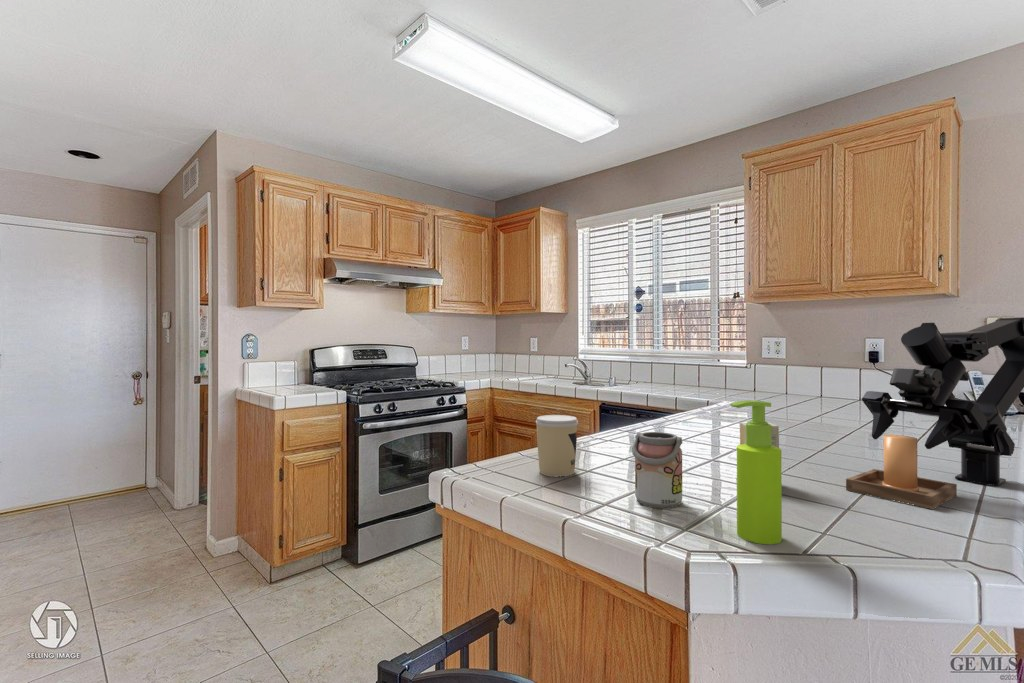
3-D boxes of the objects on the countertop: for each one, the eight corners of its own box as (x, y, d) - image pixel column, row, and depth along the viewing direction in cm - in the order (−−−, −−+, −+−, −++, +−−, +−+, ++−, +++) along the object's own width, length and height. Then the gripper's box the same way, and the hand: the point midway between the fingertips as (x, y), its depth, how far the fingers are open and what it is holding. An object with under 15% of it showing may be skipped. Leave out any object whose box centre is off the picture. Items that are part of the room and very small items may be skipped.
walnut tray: (874, 479, 101) (874, 469, 101) (956, 496, 90) (956, 484, 90) (846, 490, 93) (846, 478, 93) (932, 509, 83) (932, 496, 83)
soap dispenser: (722, 529, 74) (722, 399, 74) (765, 528, 75) (765, 398, 75) (744, 545, 68) (743, 403, 68) (790, 543, 69) (790, 403, 69)
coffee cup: (580, 478, 102) (580, 421, 102) (536, 478, 102) (536, 421, 102) (575, 466, 112) (575, 414, 112) (535, 466, 112) (534, 414, 112)
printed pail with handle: (674, 515, 80) (674, 442, 80) (625, 506, 85) (625, 437, 85) (688, 499, 88) (687, 433, 88) (642, 492, 93) (642, 429, 93)
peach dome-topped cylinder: (883, 484, 95) (883, 433, 96) (919, 489, 92) (918, 436, 92) (881, 490, 91) (881, 437, 91) (918, 496, 88) (918, 441, 88)
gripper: (867, 352, 102) (829, 407, 98) (977, 354, 85) (936, 422, 81) (892, 388, 105) (857, 443, 101) (1004, 397, 87) (966, 464, 84)
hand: (898, 442), depth 92 cm, fingers open, 9 cm apart
